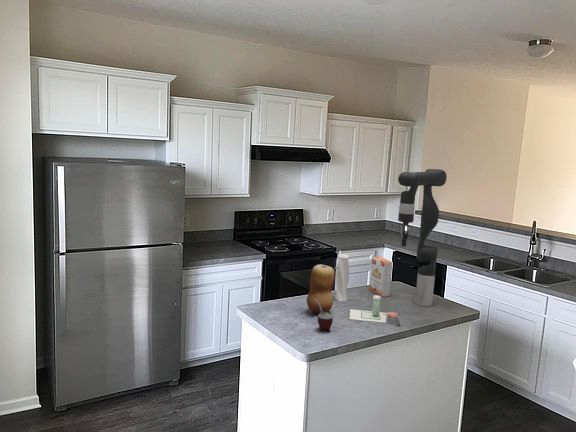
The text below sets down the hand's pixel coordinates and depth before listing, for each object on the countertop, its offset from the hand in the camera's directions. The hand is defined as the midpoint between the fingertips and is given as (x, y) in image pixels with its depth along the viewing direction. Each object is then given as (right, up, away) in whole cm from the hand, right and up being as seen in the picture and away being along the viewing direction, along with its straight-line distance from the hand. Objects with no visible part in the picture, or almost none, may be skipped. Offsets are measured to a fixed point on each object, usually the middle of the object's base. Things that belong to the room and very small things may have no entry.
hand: (403, 246), depth 240 cm
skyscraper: (-29, -32, +25) cm, 50 cm away
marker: (-14, -36, +1) cm, 38 cm away
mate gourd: (-42, -38, -19) cm, 60 cm away
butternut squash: (-42, -35, +4) cm, 55 cm away
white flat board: (-15, -36, +1) cm, 39 cm away
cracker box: (-4, -31, +42) cm, 52 cm away
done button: (-7, -36, -6) cm, 37 cm away
